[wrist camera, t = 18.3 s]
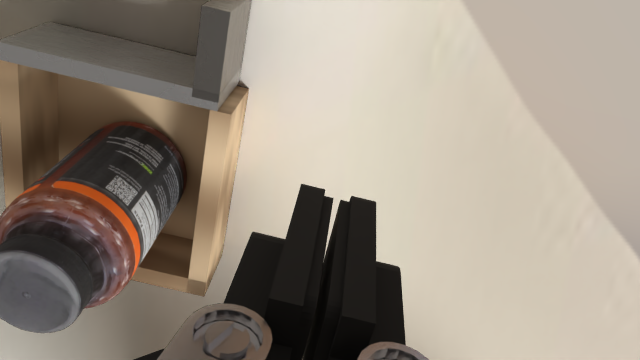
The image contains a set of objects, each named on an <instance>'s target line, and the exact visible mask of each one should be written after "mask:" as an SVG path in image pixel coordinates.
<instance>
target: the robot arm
mask: <svg viewBox="0 0 640 360" xmlns="http://www.w3.org/2000/svg"><path fill="white" fill-rule="evenodd" d="M324 194H325V189H321V188H316V187H312V186H308V185H304V184H301V187H300V190H299V194H298V197H297V201H296V204H295V208H294V211H293V215H292V218H291V222H290V225H289V229H288V232H287V236H286V239H281V238H277V237H273V236H269V235H265V234H261V233H256V232H252V234H251V236H250V239H249V241H248V244H247V246H246V249H245V251H244V254H243V256H242V259H241V261H240V263H239V266H238V268H237V271H236V273H235V276H234V278H233V281H232V283H231V286H230V288H229V291H228V293H227V296H226V298H225V301H224V303H223V304H220V303H218V304H213V305H209V306H205V307H203V308H201V309H199V310H197V311H195V312H194V313H193V314H192V315H191V316H190V317H189V318H187V320H186V321H185V322H184V324H183V325H182V326H181V328H180V329H179V330H178V332H177V333H176V334H175V336H174V337H173V339H172V340H171V341H170V343H169V344H168V345H167V347H166V348H165V349H162V350H159V351H156V352H154V353H151V354H148V355H145V356H142V357H140V358H137V359H134V360H302V358H303V360H429V359H428V358H426V357H425V356H424V355H422V354H421V353H420V352H418V351H417V350H414V349H412V348H410V347H408V346H406V344H405V330H404V315H403V301H402V286H401V272H400V268H399V267H398V266H394V265H390V264H385V263H381V262H377V261H376V202H374V201H370V200H366V199H362V198H358V197H354V196H351V198H350V201H349V202H347V201H343V200H341V201H340V203H339V207H338V211H337V214H336V218H335V222H334V225H333V229H332V233H331V236H330V240H329V244H328V247H327V251H326V255H325V248H326V242H327V235H328V229H329V223H330V216H331V210H332V203H333V198H330V197H326V196H324ZM324 255H325V258H324ZM323 261H324V262H323Z"/></svg>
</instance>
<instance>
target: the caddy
mask: <svg viewBox="0 0 640 360" xmlns="http://www.w3.org/2000/svg"><path fill="white" fill-rule="evenodd" d="M248 91H249V89H248V88H244V87H240V86H236V87H235V88H234V90H233V91H232V92H231V94H230V95H229V96H228V98H227V99H226V100H225V102H224V103H223V104H222V106H221V107H220V108H219V109H218V111H213V110H209V109H205V108H201V107H197V106H192V105H188V104H184V103H180V102H175V101H171V100H167V99H163V98H159V97H154V96H150V95H146V94H142V93H138V92H133V91H129V90H125V89H121V88H116V87H112V86H108V85H104V84H100V83H95V82H91V81H87V80H83V79H78V78H74V77H70V76H66V75H62V74H57V73H53V72H49V71H45V70H40V69H36V68H32V67H28V66H24V65H19V64H15V63H11V62H7V61H3V60H0V128H1V143H2V157H3V172H4V187H5V202H6V208H7V207H8V206H9V205H10V204H11V202H12V201H13V200H15V199H16V198H17V197H18V196H19V195H20V194H22V193H23V192H24V191H25V190H26V189H27V188H28V187H29V186H31V185H32V184H33V183H34V182H35V181H37V180H38V179H39V178H40V177H41V176H43V175H44V174H45V173H46V172H47V171H49V170H50V169H51V168H52V167H53V166H54V165H56V164H57V163H58V162H59V161H60V160H62V159H63V158H64V157H65V156H66V155H67V154H69V153H70V152H71V151H72V150H73V149H75V148H76V147H77V146H78V145H79V144H81V143H82V142H83V141H84V140H85V139H87V138H88V137H89V136H90V135H91V134H93V133H94V132H95V131H97V130H98V129H100V128H101V127H103V126H105V125H107V124H111V123H115V122H123V121H130V122H137V123H142V124H145V125H148V126H150V127H152V128H154V129H156V130H158V131H160V132H161V133H163V134H164V135H165V136H166V137H167V138H169V139H170V140H171V141H172V142H173V143H174V145H175V146H176V148H177V149H178V150H179V152H180V153H181V155H182V157H183V160H184V163H185V166H186V172H187V181H186V187H185V191H184V193H183V195H182V197H181V199H180V201H179V203H178V204H177V206H176V207H175V209H174V211H173V212H172V214H171V215H170V217H169V219H168V220H167V222H166V223H165V225H164V227H163V228H162V230H161V231H160V233H159V235H158V236H157V238H156V239H155V241H154V243H153V244H152V246H151V248H150V249H149V251H148V252H147V254H146V255H145V257H144V259H143V260H142V262H141V263H140V265H139V267H138V269H137V270H136V271H135V273H134V274H133V276H132V277H131V279H130V280H134V281H139V282H143V283H147V284H152V285H156V286H160V287H165V288H169V289H174V290H178V291H182V292H187V293H191V294H195V295H200V296H205V293H206V291H207V289H208V286H209V284H210V282H211V279H212V277H213V275H214V272H215V270H216V268H217V265H218V263H219V261H220V258H221V256H222V252H223V246H224V239H225V233H226V227H227V221H228V215H229V209H230V202H231V196H232V190H233V184H234V178H235V172H236V165H237V159H238V153H239V147H240V141H241V135H242V128H243V122H244V116H245V110H246V104H247V98H248Z"/></svg>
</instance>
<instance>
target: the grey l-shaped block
mask: <svg viewBox="0 0 640 360" xmlns="http://www.w3.org/2000/svg"><path fill="white" fill-rule="evenodd" d="M251 1H252V0H210V1H208V2H207V3H205V4H203V5H202V8H201V17H200V26H199V35H198V44H197V54H196V56H192V55H187V54H183V53H179V52H175V51H171V50H166V49H162V48H158V47H154V46H150V45H146V44H141V43H137V42H133V41H129V40H125V39H120V38H116V37H112V36H108V35H104V34H100V33H95V32H91V31H87V30H83V29H79V28H75V27H70V26H66V25H62V24H58V23H54V22H48V23H45V24H42V25H39V26H36V27H34V28H31V29H28V30H25V31H22V32H20V33H17V34H14V35H11V36H8V37H5V38H3V39H0V60H3V61H7V62H11V63H15V64H19V65H24V66H28V67H32V68H36V69H40V70H45V71H49V72H53V73H57V74H62V75H66V76H70V77H74V78H78V79H83V80H87V81H91V82H95V83H100V84H104V85H108V86H112V87H116V88H121V89H125V90H129V91H133V92H138V93H142V94H146V95H150V96H154V97H159V98H163V99H167V100H171V101H175V102H180V103H184V104H188V105H192V106H197V107H201V108H205V109H209V110H213V111H218V109H219V108H220V107H221V106H222V104H223V103H224V102H225V100H226V99H227V98H228V96H229V95H230V94H231V92H232V91H233V90H234V88H235V87H236V86H237V84H238V83H239V80H240V73H241V67H242V60H243V54H244V47H245V41H246V34H247V28H248V21H249V14H250V8H251Z"/></svg>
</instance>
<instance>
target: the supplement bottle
mask: <svg viewBox="0 0 640 360" xmlns="http://www.w3.org/2000/svg"><path fill="white" fill-rule="evenodd" d="M186 181H187V172H186V166H185V163H184V160H183V157H182V155H181V153H180V152H179V150H178V149H177V148H176V146H175V145H174V143H173V142H172V141H171V140H170V139H169V138H167V137H166V136H165V135H164V134H163V133H161V132H160V131H158V130H156V129H154V128H152V127H150V126H148V125H145V124H142V123H137V122H130V121H123V122H115V123H111V124H107V125H105V126H103V127H101V128H100V129H98V130H97V131H95V132H94V133H93V134H91V135H90V136H89V137H88V138H87V139H85V140H84V141H83V142H82V143H81V144H79V145H78V146H77V147H76V148H75V149H73V150H72V151H71V152H70V153H69V154H67V155H66V156H65V157H64V158H63V159H62V160H60V161H59V162H58V163H57V164H56V165H54V166H53V167H52V168H51V169H50V170H49V171H47V172H46V173H45V174H44V175H43V176H41V177H40V178H39V179H38V180H37V181H35V182H34V183H33V184H32V185H31V186H29V187H28V188H27V189H26V190H25V191H24V192H23V193H22V194H20V195H19V196H18V197H17V198H16V199H15V200H13V201H12V202H11V204H10V205H9V206H8V207H7V208H6V210H5V211H4V212H3V213H2V216H1V217H0V318H1V319H3V320H4V321H6V322H7V323H9V324H11V325H13V326H15V327H17V328H19V329H22V330H25V331H30V332H36V333H51V332H56V331H60V330H62V329H65V328H66V327H68V326H70V325H71V324H72V323H73V322H74V321H75V320H76V318H77V317H78V316H79V315H80V313H81V312H82V310H83V309H84V308H90V307H95V306H97V305H100V304H103V303H105V302H107V301H109V300H111V299H113V298H114V297H115V296H116V295H118V294H119V293H120V291H121V290H122V289H123V288H124V287H125V286H126V285H127V284H128V282H129V281H130V279H131V277H132V276H133V274H134V273H135V271H136V270H137V269H138V267H139V265H140V263H141V262H142V260H143V259H144V257H145V255H146V254H147V252H148V251H149V249H150V248H151V246H152V244H153V243H154V241H155V239H156V238H157V236H158V235H159V233H160V231H161V230H162V228H163V227H164V225H165V223H166V222H167V220H168V219H169V217H170V215H171V214H172V212H173V211H174V209H175V207H176V206H177V204H178V203H179V201H180V199H181V197H182V195H183V193H184V191H185V187H186Z"/></svg>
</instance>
